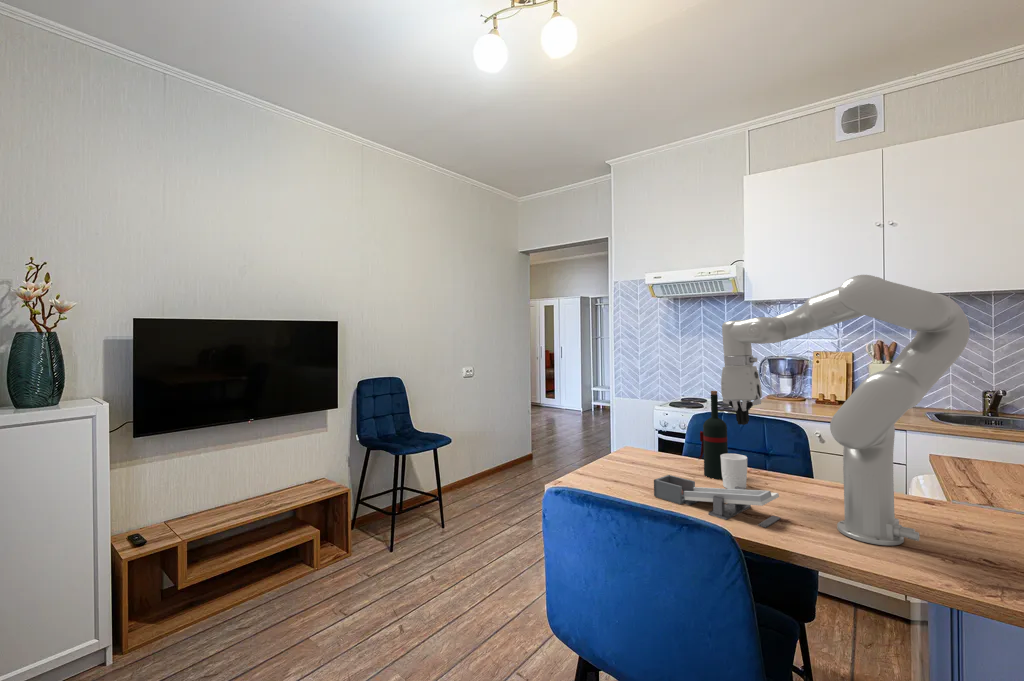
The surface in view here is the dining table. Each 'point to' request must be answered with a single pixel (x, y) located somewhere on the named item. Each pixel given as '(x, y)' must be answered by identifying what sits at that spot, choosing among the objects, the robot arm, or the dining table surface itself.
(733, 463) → the white cup
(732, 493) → the seesaw
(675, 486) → the grey open cubby box
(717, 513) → the stand
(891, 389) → the robot arm
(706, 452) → the wine bottle
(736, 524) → the dining table surface
